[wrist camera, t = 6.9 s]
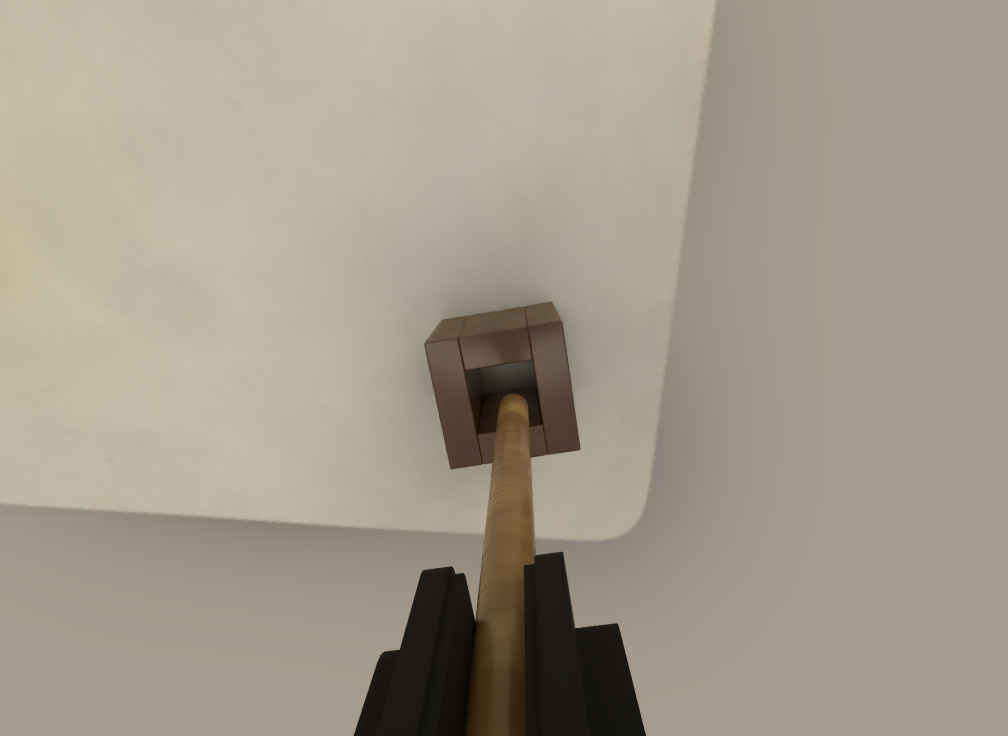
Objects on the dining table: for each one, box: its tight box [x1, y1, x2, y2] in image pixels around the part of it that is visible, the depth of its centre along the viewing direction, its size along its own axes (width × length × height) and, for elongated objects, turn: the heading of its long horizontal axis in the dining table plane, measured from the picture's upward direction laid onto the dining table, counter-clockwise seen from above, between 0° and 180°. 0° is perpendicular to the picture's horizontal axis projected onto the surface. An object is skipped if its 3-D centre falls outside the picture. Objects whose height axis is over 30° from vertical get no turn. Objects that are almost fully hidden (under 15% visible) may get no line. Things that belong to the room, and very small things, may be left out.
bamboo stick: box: [464, 394, 536, 736], centre depth 13 cm, size 1×1×18 cm
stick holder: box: [424, 302, 580, 469], centre depth 27 cm, size 6×6×6 cm
